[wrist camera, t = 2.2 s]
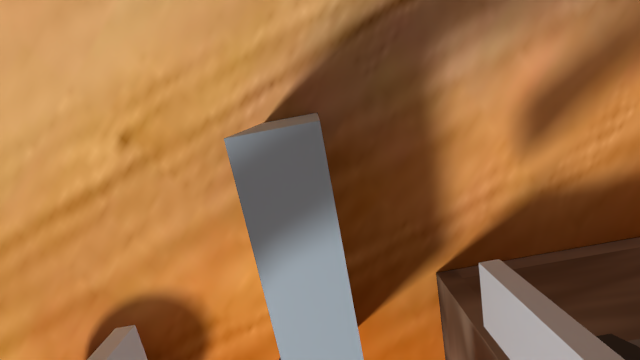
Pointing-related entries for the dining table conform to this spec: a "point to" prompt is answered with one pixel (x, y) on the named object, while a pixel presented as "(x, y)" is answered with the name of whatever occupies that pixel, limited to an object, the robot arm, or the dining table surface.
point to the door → (296, 237)
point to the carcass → (549, 295)
